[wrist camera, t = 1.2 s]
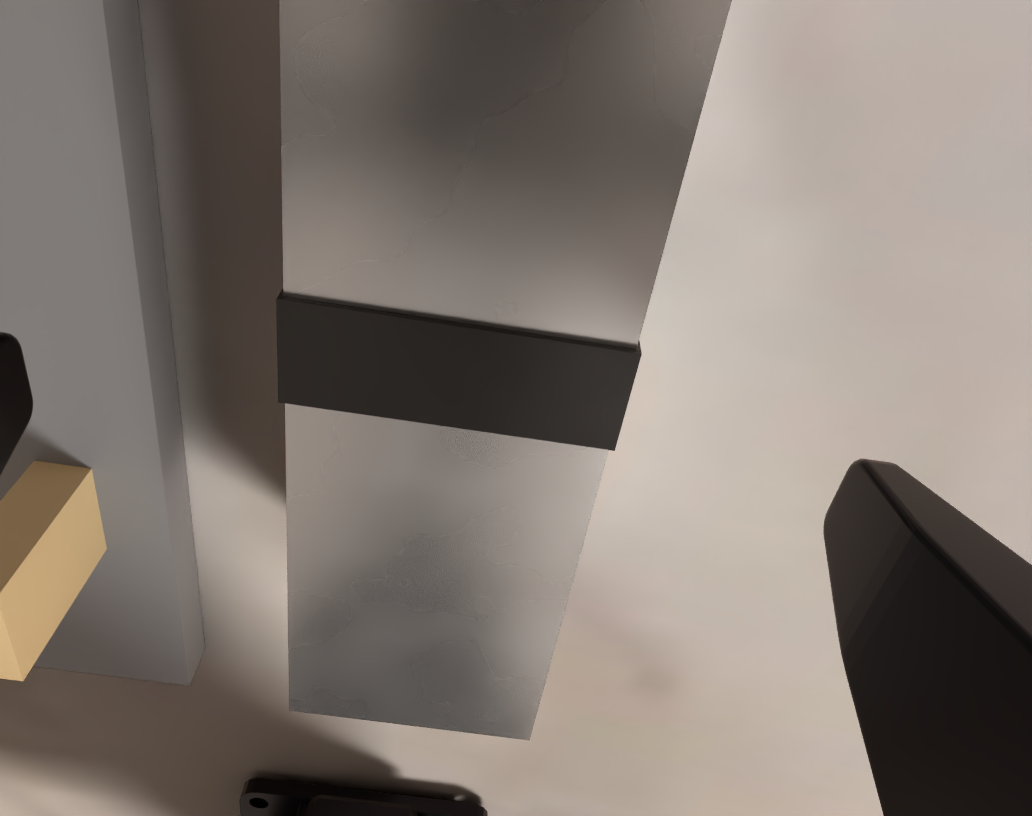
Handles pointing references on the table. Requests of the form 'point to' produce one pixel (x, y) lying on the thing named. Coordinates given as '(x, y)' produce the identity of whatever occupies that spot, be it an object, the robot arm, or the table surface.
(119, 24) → the plate
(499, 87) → the air duct
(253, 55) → the table surface
